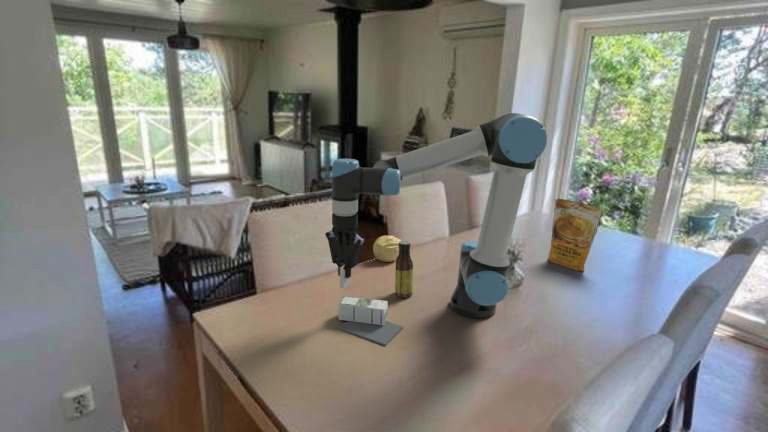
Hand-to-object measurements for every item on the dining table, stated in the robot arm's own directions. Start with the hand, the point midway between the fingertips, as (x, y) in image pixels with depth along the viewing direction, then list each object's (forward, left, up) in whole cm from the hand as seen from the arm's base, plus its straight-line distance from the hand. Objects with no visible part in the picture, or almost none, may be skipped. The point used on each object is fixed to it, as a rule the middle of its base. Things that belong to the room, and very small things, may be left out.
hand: (344, 286), depth 125 cm
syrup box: (+2, 0, -8) cm, 8 cm away
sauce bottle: (-8, -25, -12) cm, 29 cm away
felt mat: (-10, 0, -11) cm, 15 cm away
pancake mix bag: (-55, -89, -12) cm, 105 cm away
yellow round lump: (+13, -50, -12) cm, 53 cm away
